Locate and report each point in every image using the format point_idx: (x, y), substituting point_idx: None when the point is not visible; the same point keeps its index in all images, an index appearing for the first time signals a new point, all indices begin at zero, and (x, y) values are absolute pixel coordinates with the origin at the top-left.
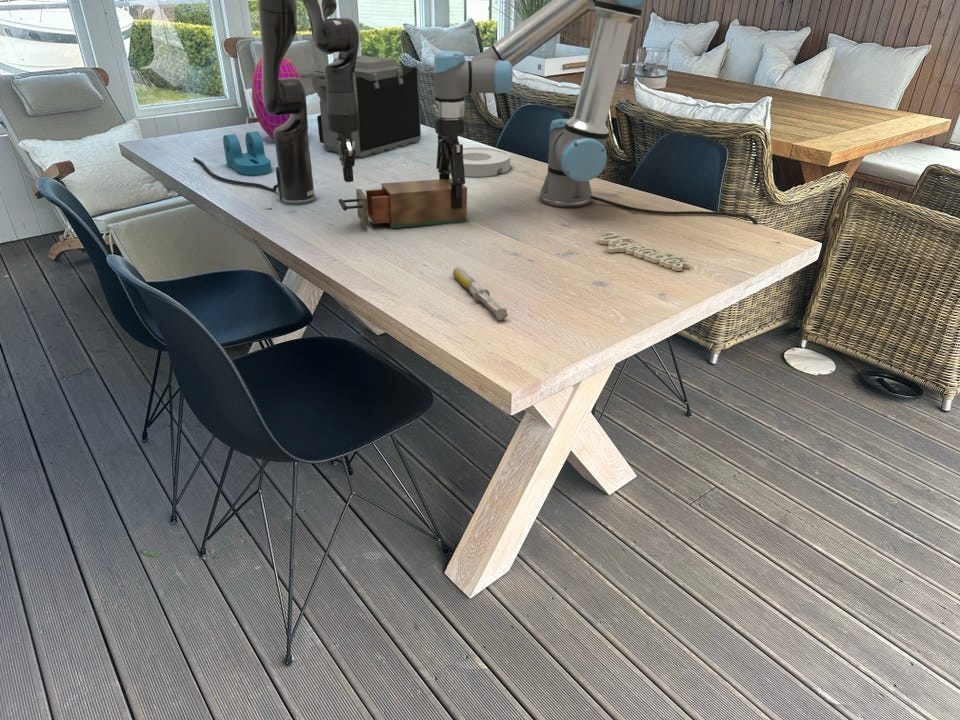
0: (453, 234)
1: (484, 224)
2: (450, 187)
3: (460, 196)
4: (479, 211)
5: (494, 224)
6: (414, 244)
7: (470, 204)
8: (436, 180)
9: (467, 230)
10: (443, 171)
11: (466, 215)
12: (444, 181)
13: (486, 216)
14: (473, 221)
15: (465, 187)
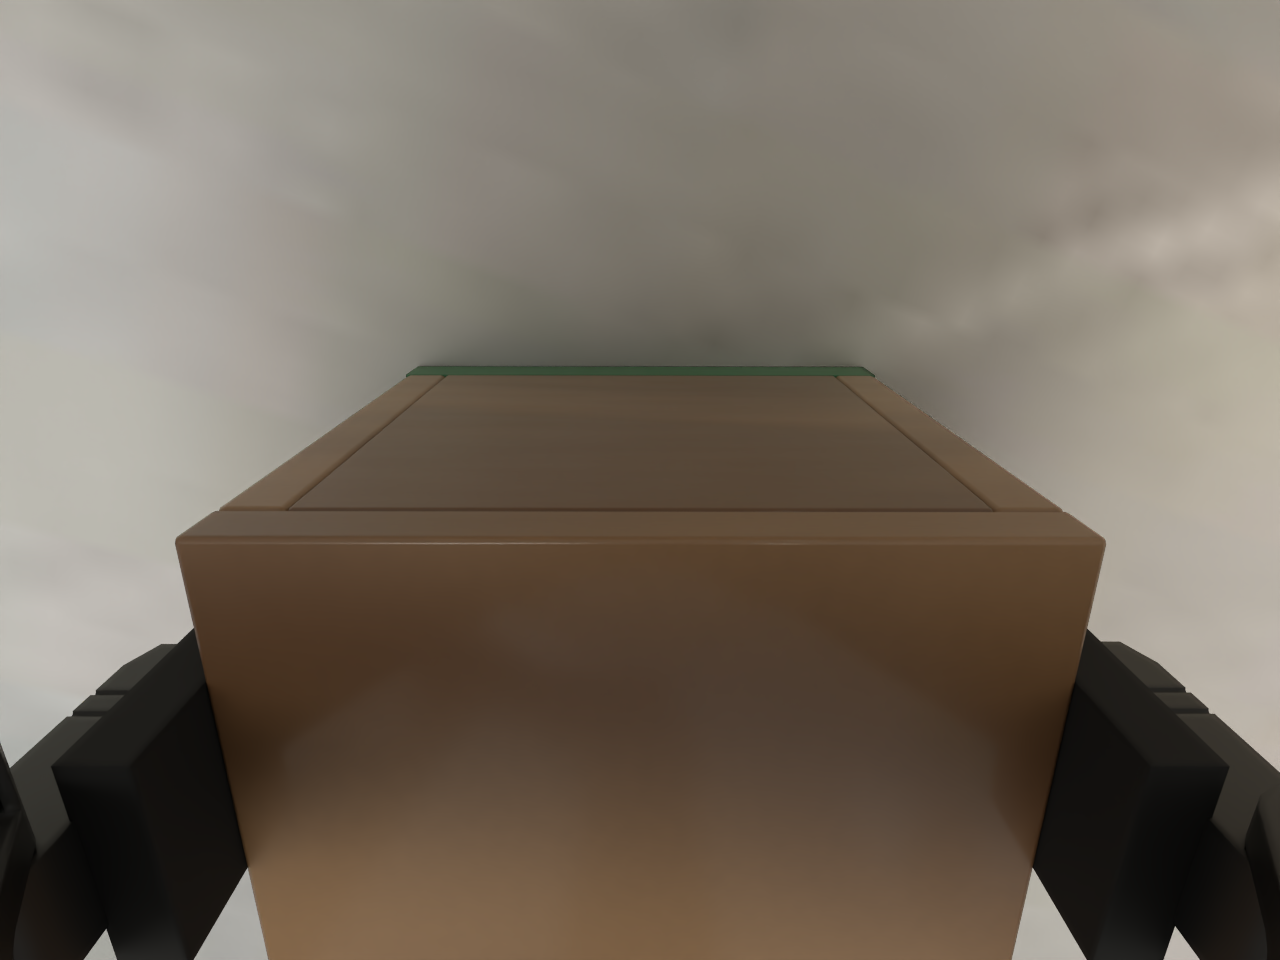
0: (1166, 624)
1: (1063, 181)
2: (925, 855)
3: (1133, 659)
4: (531, 40)
5: (1135, 37)
6: (1192, 951)
7: (180, 57)
8: (344, 951)
9: (1140, 457)
10: (53, 932)
11: (884, 387)
12: (444, 841)
13: (777, 19)
14: (893, 282)
15: (1066, 572)
